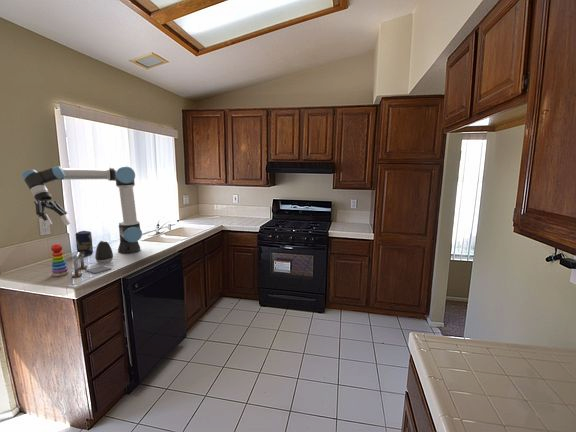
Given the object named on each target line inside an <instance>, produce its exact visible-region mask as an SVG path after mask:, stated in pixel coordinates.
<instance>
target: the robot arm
mask: <svg viewBox="0 0 576 432" xmlns="http://www.w3.org/2000/svg"><path fill="white" fill-rule="evenodd" d="M21 176H22V178H23V181H24V183H25V184H26V186H27V187H28V189H29V191H30V192H31V194H32V196H33V198H34V200H35V201H33V203H34V204H35V205H34V206H35V214H36V215H37V216H38V217H40V218H42V220H43V221H44V222H45V224H46V226H47V227H50V226H52V225H53V222H52V220H51V218H50V217H49V215H48V214H47V213H46V211H47V209H48V210H49V209H50V210H52V211H54V212H55V213H57V215H59V216H60V218H61V221H62V222H63V224H64V225H65V226H68V225H70V224H71V222H70V221H69V219H68V216H67V214H68V211H66V209H64V208H63V207H62V206H61V205H60V204H59V203H58V201H56V200H54V201H53V200H52V194H51V193H50V192H49V190H48V188H47V186H46V185H45V184H48V183H51V182H53V181H58V180H59V181H62V180H65V181H67V180H71V181H73V180H107V181H110V182H111V181H113V182H115V186H116V187H117V188H118V190H119V191H118V192H119V197H120V207H121V214H122V222H119V223H118V232H119V233H118V234H119V245H118V249H117V253H118V254H120V255H121V254H123V255H127V254H128V255H129V254H134V253H138V252H140V251H141V246H140V244H139V242H138V241H140V240H141V238H142V237H143V232H142V229H141V223H140V221H138V219H137V218H138V217H137V211H136V201H135V192H134V187H135V186H136V183H135V182H136V181H135V178H136V173H135V171H134V170H133V168H132V167H130V166H128V165H118V166H108V167H106V168H96V167H95V168H93V167H92V168H90V167H89V168H88V167H87V168H82V167H81V168H77V167H76V168H75V167H74V168H73V167H64V168H63V167H61V166H60V165H58V166H53V167H50V168H49V167H48V168H45V169H43V170H41V171H37V170H35V169H27V170H24V171H23V172H22V173H21Z"/></svg>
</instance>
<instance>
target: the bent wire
mask: <svg viewBox="0 0 576 432" xmlns="http://www.w3.org/2000/svg"><path fill="white" fill-rule="evenodd" d="M78 261H80V266H79V263H78ZM73 268H74V273H73V274H72V275H71V278H72V279H77V278H81V277H82V276H83V273H82V272H80V273H79V271H85V270H87V269H88V265H85V260H84V256H83V254H81V253H79V252H77V251H76V254H75V258H74V260H73Z"/></svg>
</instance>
